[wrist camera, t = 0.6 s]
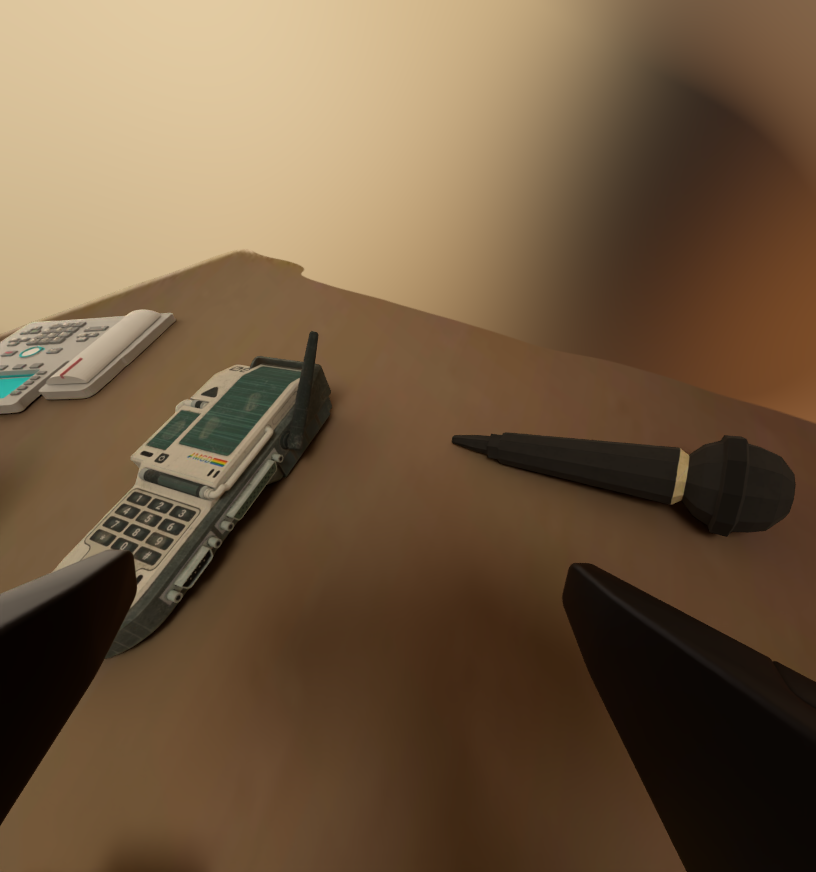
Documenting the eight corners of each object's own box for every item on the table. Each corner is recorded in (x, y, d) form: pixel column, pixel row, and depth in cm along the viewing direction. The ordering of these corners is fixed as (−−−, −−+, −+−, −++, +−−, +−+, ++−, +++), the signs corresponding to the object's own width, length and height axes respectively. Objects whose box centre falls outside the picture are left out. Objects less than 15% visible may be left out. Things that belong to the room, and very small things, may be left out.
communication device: (15, 625, 27) (-126, 551, 21) (249, 395, 42) (207, 313, 36) (143, 702, 22) (12, 636, 16) (353, 413, 37) (326, 324, 31)
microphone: (452, 486, 34) (775, 560, 23) (428, 451, 29) (813, 524, 19) (473, 429, 36) (778, 474, 25) (454, 388, 31) (813, 423, 21)
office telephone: (169, 302, 56) (67, 392, 42) (178, 320, 58) (84, 412, 44) (23, 313, 60) (-117, 400, 46) (36, 330, 62) (-95, 418, 47)
